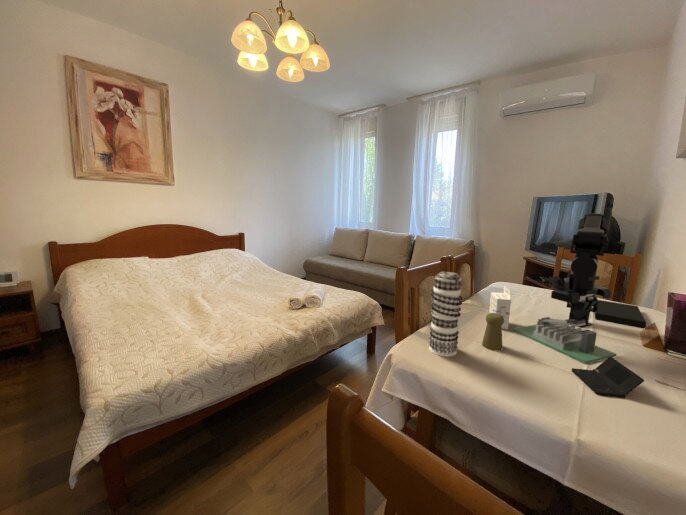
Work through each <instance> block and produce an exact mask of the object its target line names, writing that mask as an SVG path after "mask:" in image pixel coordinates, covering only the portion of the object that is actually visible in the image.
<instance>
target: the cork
mask: <svg viewBox="0 0 686 515" xmlns="http://www.w3.org/2000/svg"><path fill="white" fill-rule="evenodd" d="M485 321H486V326H485V330H484V334H483V339H482V342H481V345H482V347H484V348H485V349H487V350H489V349H490V350H489V351H494V350H500V351H502V350H503V331H502V330H503V329H502V327H501V325H503V323H504V318H503V316H502V315H500V314H497V313H487V314H486V316H485ZM501 349H502V350H501Z"/></svg>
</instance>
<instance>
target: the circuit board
mask: <svg viewBox="0 0 686 515" xmlns="http://www.w3.org/2000/svg"><path fill="white" fill-rule="evenodd" d="M536 325H537V324H533V325H526V326H519V327H514V328H513V329H512V331H513V332H515V331H516V332H515V333H517V332H518V334H519V333H520V334H519V335H522V336H524V337H526V338H528V339H530V340H532V341H535V342H536V343H539V344H541V345H542V346H545V347H548V348H550V349H552V350H554V351H556V352H558V353H559V354H560V353H561V354H563V355H565V356H567V357H568V358H571V359H573V360H575V361H578V362H580V363H582V364H584V365H586V364H590V363H594V362H599V361H602V360H607V359H608V358H609V357H613V358H615V357H617V353H616V352H612V351H611V350H608V349H605V348H603V347H600V346H598V345H596V344H595V347H594V352H589V353H583V352H580V351H579V349H580V346H578V347H573V348H568V349H564V350H562V349H560V348H558V347H556V346H554V345H551V344H549V343H547V342H545V341H543V340H540V339H538V338H536V337H534V336H533V333H534V331H535V330H536Z"/></svg>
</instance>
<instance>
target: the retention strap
mask: <svg viewBox="0 0 686 515" xmlns="http://www.w3.org/2000/svg"><path fill="white" fill-rule="evenodd" d="M566 320H567V319H559V318H558V319H555V318H551V317H549V316H547V317H542V318H541V317H540V318H538V321H541V322H548V323H556V324H563V325H569V326H575V327H579V326H582V325H586V320H584V319H581V320H575V319H570V320H567V321H566Z"/></svg>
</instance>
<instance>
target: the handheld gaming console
mask: <svg viewBox="0 0 686 515" xmlns="http://www.w3.org/2000/svg"><path fill="white" fill-rule="evenodd" d="M571 372H572V373H573V374H574V375H575V377H577V378H578V379H580V380H581V382H583V384H585V386H587V387H588V388H589V389H590V390H591V391H592V392H593V393H594V394H595V395H597V396H602V397H603V396H604V397H610V398H611V397H613V398H619V399H620V398H621V399H626V396H627V395H628V394H630V393H631V392H632V391H634V390H636V388H638V387H639V386H640V385H641V384H643V383H644V382H645V379H644V378H642V377H641V376H640V375H638V374H637V373H636V372H634V371H632V369H630V368H628V367H627V366H625V365H624V364H623V363H621V362H620V361H618V360H617V359H616V358H615V357H609V358H607V359H604V361H603V362H602V363H601V364H599V365H598V366H596V367H595V368H593V369H584V368H573V367H572V368H571Z"/></svg>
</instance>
